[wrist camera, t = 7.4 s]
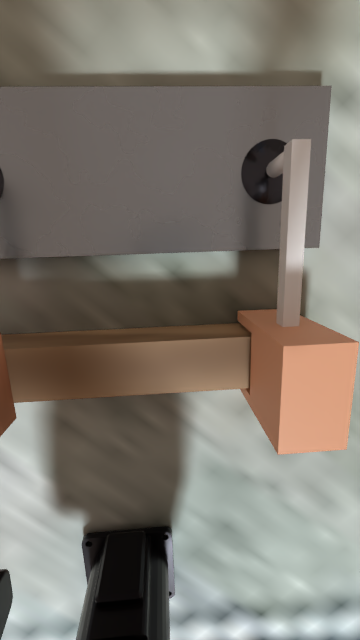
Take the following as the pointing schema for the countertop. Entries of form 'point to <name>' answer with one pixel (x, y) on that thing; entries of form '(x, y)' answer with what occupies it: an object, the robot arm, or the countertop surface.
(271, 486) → the countertop surface
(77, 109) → the flange plate
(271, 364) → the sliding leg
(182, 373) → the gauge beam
